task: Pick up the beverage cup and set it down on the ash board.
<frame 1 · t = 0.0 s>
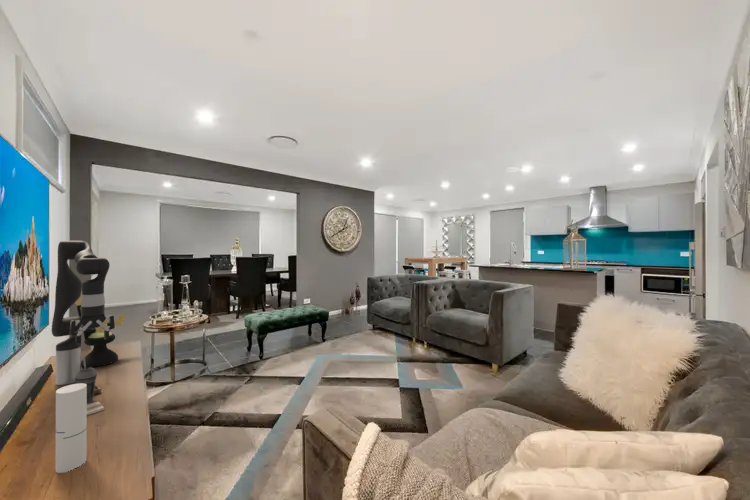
hand: (92, 341, 133), 29 cm above the tv stand, tool pointing down, fingers open, 8 cm apart
ash board: (82, 412, 131), on the tv stand
cylindrical container: (71, 465, 100), on the tv stand
black yellow plant sculpture: (95, 363, 185), on the tv stand
beverage cup: (86, 402, 140), on the tv stand
marble tray: (86, 393, 147), on the tv stand
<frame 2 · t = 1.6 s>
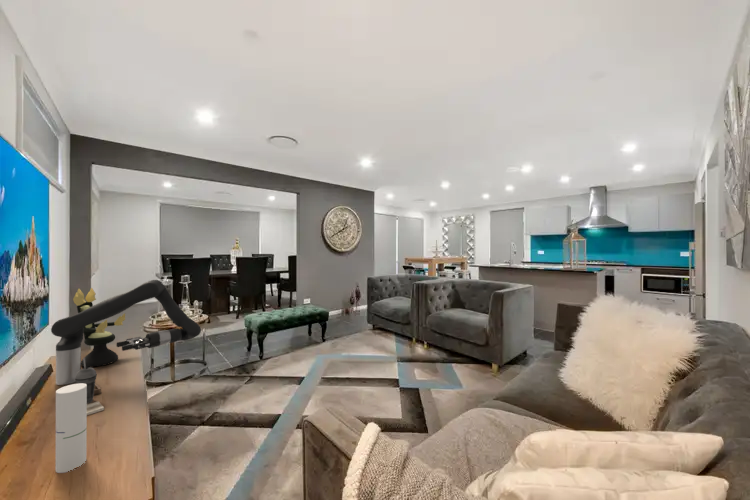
hand: (119, 346, 149), 22 cm above the tv stand, tool horizontal, fingers open, 8 cm apart
nothing on the tv stand moved.
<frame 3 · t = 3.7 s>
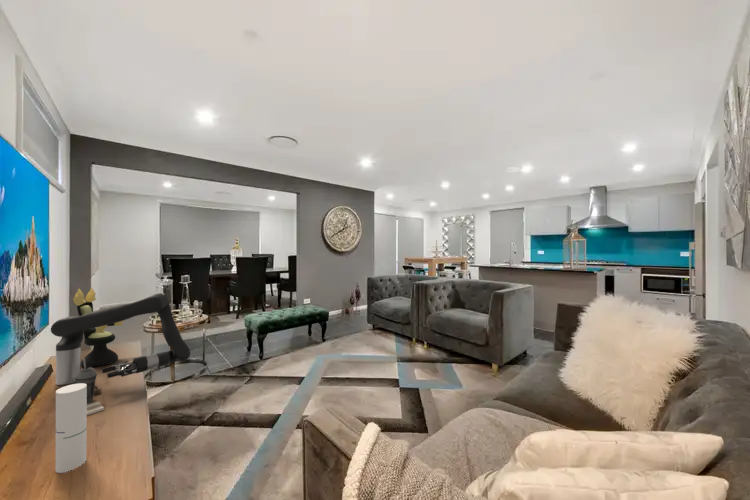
hand: (104, 373, 145), 11 cm above the tv stand, tool horizontal, fingers open, 8 cm apart
nothing on the tv stand moved.
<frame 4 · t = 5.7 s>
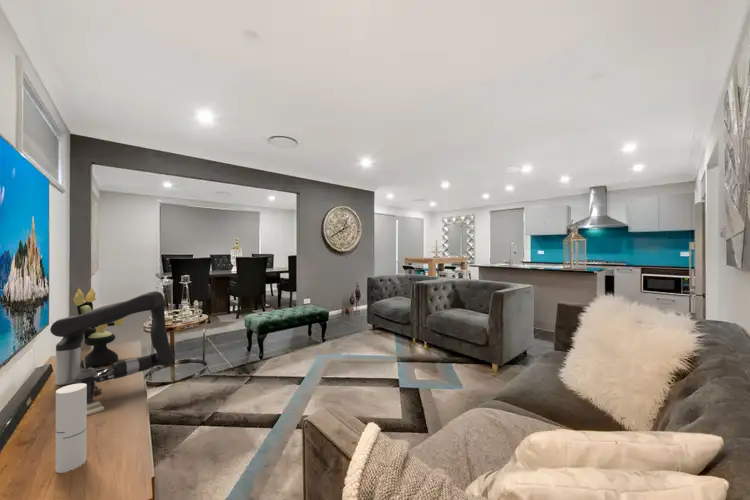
hand: (79, 379, 138), 11 cm above the tv stand, tool horizontal, fingers closed on beverage cup, 7 cm apart
beverage cup: (85, 402, 140), on the tv stand, touching gripper
everything else where it was.
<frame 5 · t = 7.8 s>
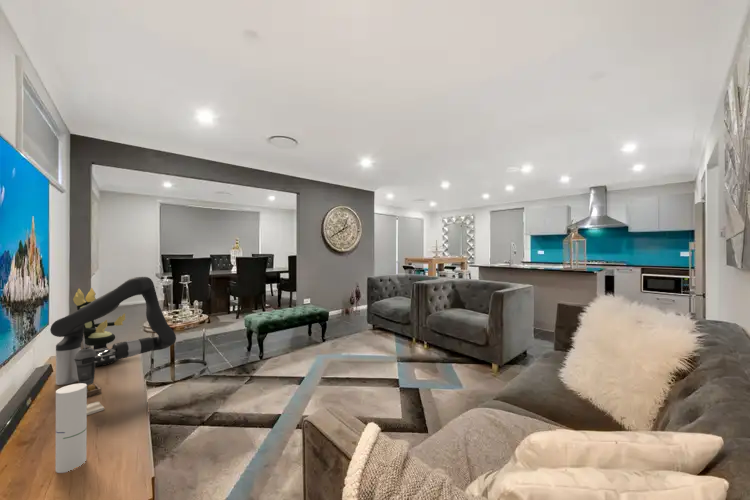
hand: (79, 359, 132), 22 cm above the tv stand, tool horizontal, fingers closed on beverage cup, 7 cm apart
beverage cup: (86, 384, 134), point 11 cm above the tv stand, touching gripper
everything else where it was.
when the fingers open (13 cm above the tv stand, at t = 10.3 s): beverage cup drops 1 cm, resting on ash board.
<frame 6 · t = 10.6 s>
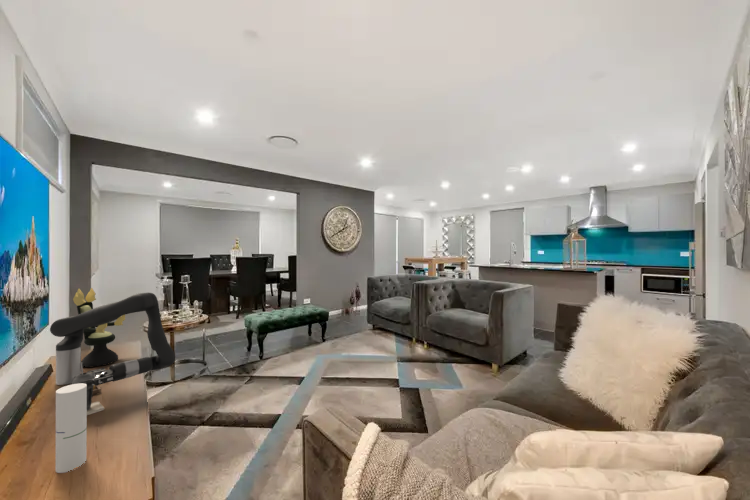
hand: (76, 382, 130), 13 cm above the tv stand, tool horizontal, fingers open, 8 cm apart
beverage cup: (83, 410, 131), point 1 cm above the tv stand, touching ash board
everything else where it was.
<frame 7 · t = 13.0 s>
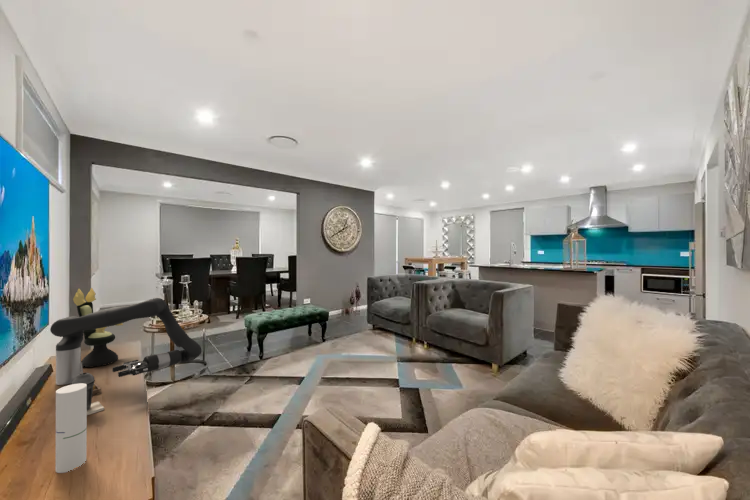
hand: (115, 372, 140), 14 cm above the tv stand, tool horizontal, fingers open, 8 cm apart
nothing on the tv stand moved.
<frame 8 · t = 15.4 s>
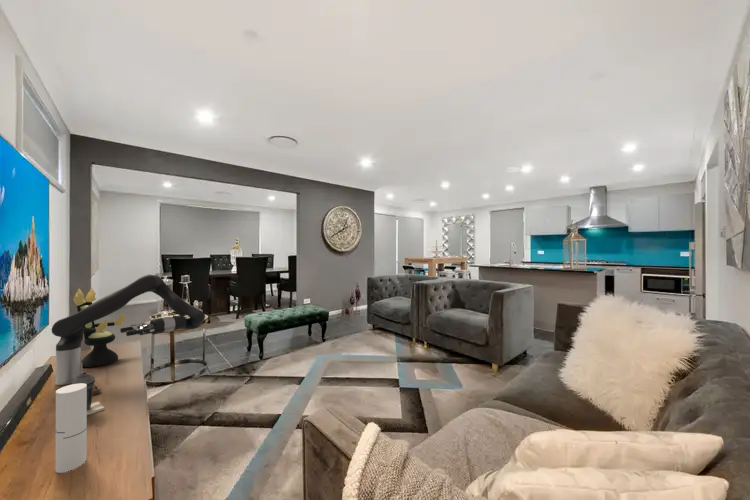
hand: (123, 332, 146), 30 cm above the tv stand, tool horizontal, fingers open, 8 cm apart
nothing on the tv stand moved.
at the end: beverage cup inside the target area on the ash board (0.3 cm from its centre), point 0.8 cm above the ash board's base; beverage cup tilted 0°; the gripper is holding nothing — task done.
